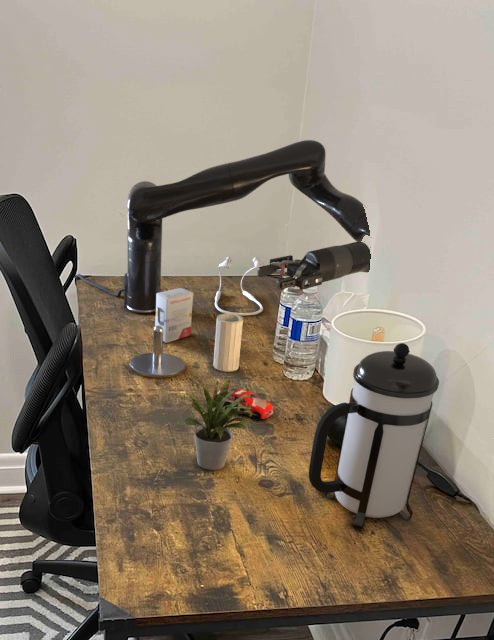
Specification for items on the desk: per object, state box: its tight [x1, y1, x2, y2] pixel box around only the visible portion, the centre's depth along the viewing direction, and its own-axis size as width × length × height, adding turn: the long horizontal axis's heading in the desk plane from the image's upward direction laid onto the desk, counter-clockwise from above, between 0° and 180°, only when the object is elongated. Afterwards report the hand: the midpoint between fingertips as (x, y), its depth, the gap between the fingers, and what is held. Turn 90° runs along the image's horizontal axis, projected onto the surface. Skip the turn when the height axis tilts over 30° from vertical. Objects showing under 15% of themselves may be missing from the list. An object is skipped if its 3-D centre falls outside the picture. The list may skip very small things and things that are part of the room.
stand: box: [129, 326, 186, 379], centre depth 171 cm, size 13×13×10 cm
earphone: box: [214, 256, 265, 317], centre depth 210 cm, size 14×17×18 cm
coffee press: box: [308, 342, 440, 530], centre depth 118 cm, size 17×16×30 cm
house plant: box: [176, 378, 256, 471], centre depth 132 cm, size 14×14×16 cm
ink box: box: [154, 287, 194, 344], centre depth 186 cm, size 9×5×12 cm, turn 129°
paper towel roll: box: [212, 313, 244, 372], centre depth 172 cm, size 6×6×12 cm
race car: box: [217, 387, 274, 421], centre depth 155 cm, size 13×5×4 cm, turn 57°
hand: (267, 278), depth 167 cm, fingers open, 8 cm apart
